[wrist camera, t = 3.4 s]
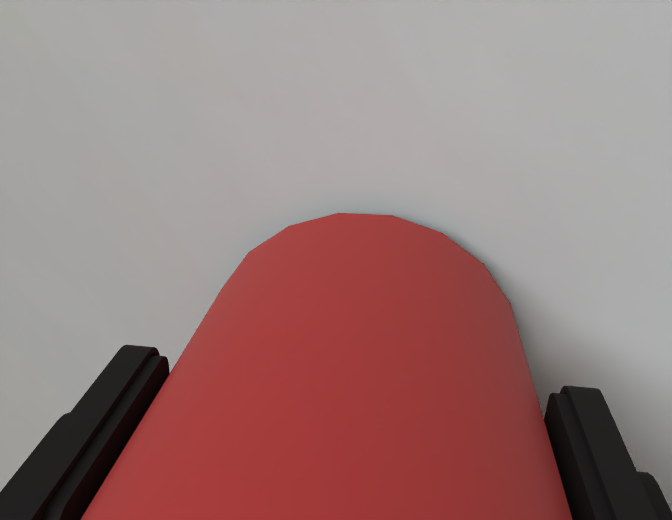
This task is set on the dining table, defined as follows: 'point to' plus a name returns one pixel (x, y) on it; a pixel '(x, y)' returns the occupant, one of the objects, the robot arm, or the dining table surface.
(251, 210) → the dining table surface
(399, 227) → the beer can
